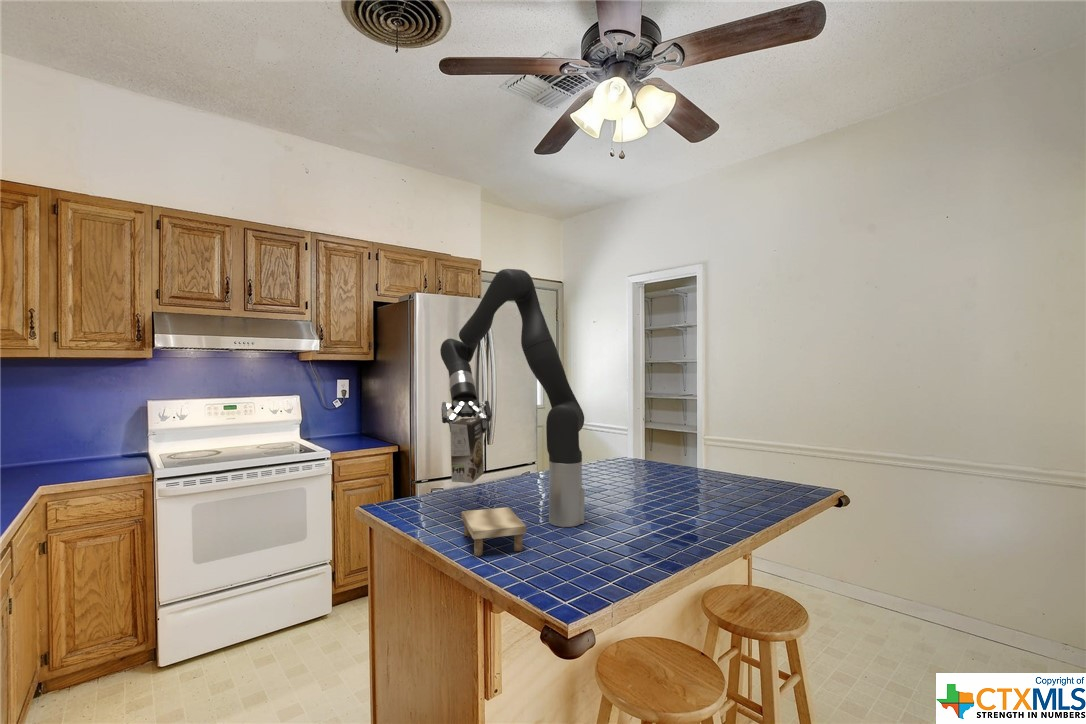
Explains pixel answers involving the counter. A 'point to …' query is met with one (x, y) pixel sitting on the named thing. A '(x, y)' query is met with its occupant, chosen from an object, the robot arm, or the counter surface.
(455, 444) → the coffee box
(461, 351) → the robot arm
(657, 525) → the counter surface
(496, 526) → the footstool
